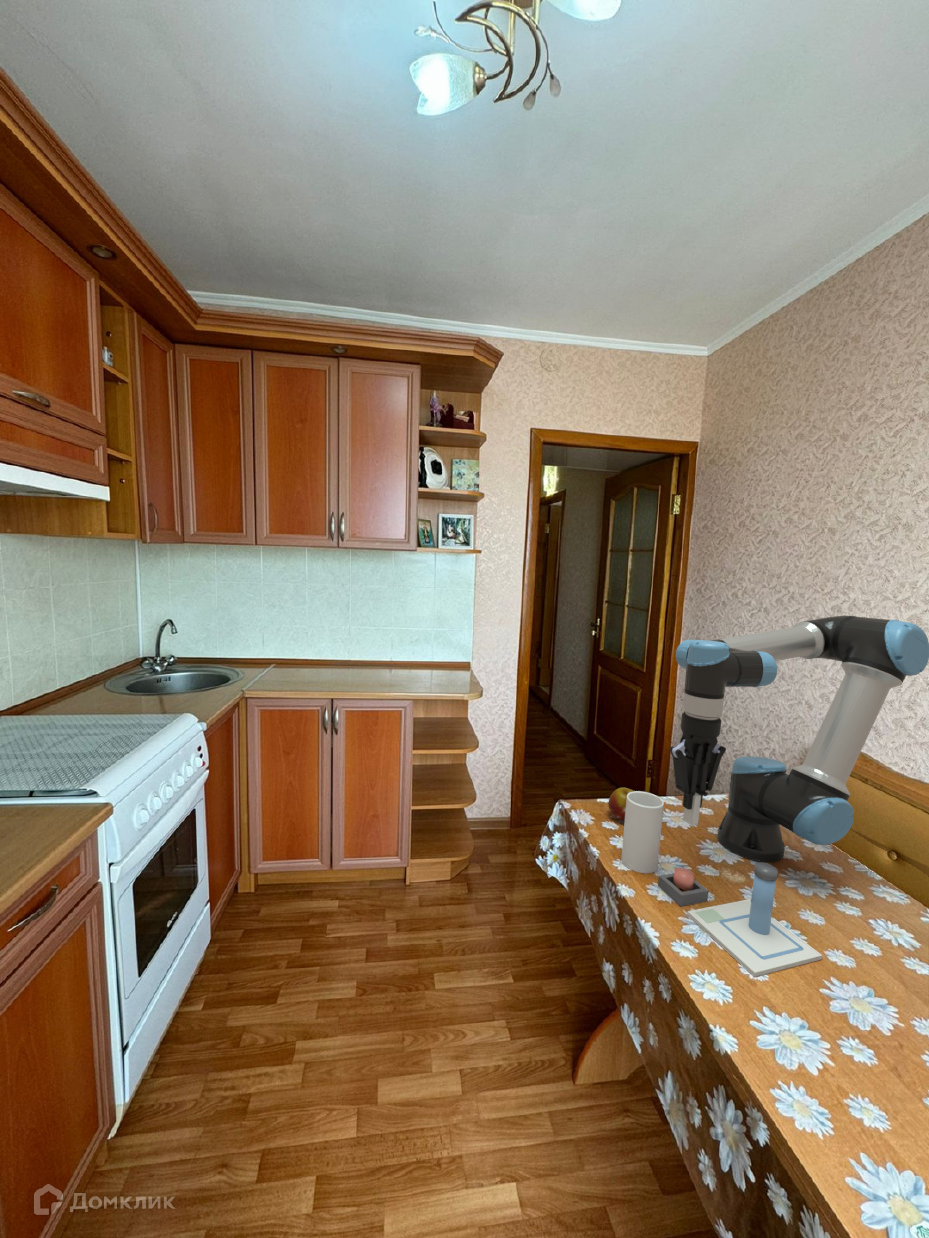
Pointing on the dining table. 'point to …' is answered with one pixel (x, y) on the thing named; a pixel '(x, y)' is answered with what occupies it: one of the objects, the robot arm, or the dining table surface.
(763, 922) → the marker
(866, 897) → the dining table surface
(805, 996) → the dining table surface
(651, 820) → the cup
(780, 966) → the board
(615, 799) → the fruit
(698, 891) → the button housing
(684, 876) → the button
